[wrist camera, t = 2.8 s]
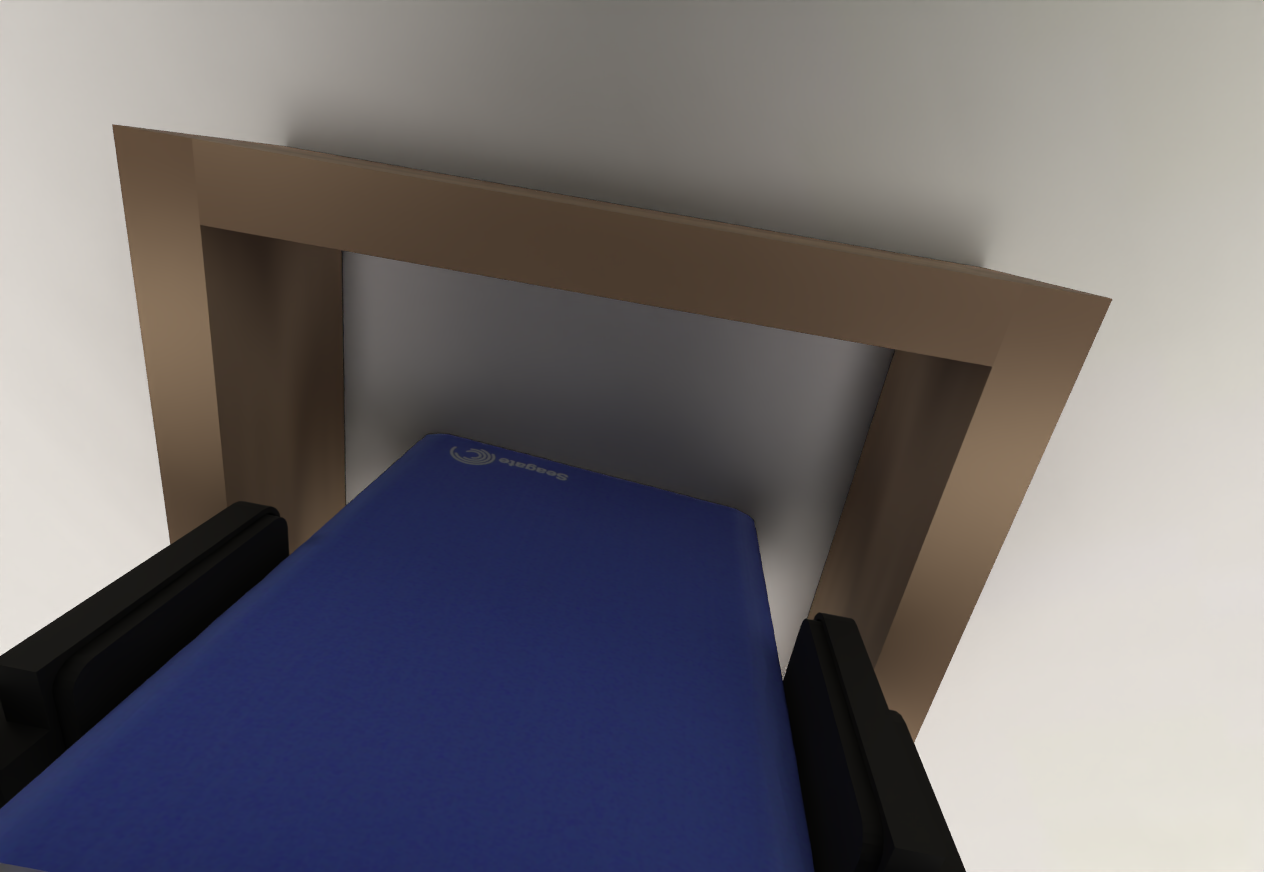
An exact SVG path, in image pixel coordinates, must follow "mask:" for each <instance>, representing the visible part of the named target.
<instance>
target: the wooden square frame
mask: <svg viewBox="0 0 1264 872" xmlns="http://www.w3.org/2000/svg"><path fill="white" fill-rule="evenodd" d="M112 126H113V133H114V140H115V147H116V155H117V162H118V169H119V176H120V184H121V191H122V198H123V205H124V212H125V220H126V227H127V234H128V241H129V249H130V256H131V263H132V270H133V277H134V285H135V292H136V299H137V306H138V314H139V321H140V328H141V335H142V343H143V350H144V357H145V364H146V371H147V379H148V386H149V393H150V400H151V408H152V415H153V422H154V429H155V436H156V444H157V451H158V458H159V465H160V473H161V480H162V487H163V494H164V501H165V509H166V516H167V523H168V530H169V538H170V545H171V544H172V543H174V542H175V541H177V540H178V539H180V538H181V537H183V536H184V535H186V534H187V533H189V532H190V531H192V530H193V529H195V528H196V527H198V526H200V525H201V524H203V523H204V522H206V521H207V520H209V519H210V518H212V517H213V516H215V515H216V514H218V513H219V512H221V511H222V510H224V509H226V508H227V507H229V506H230V505H232V504H233V503H235V502H238V501H246V502H251V503H256V504H261V505H266V506H272V507H274V508H276V509H277V510H278V511H279V513H280V517H283V518H284V519H286V521H287V524H288V538H289V556H290V555H291V554H292V553H293V552H294V551H295V550H296V549H297V548H298V547H299V546H301V545H302V544H303V543H304V542H306V541H307V540H308V539H309V538H310V537H311V536H312V535H313V534H314V533H315V532H317V531H318V530H319V529H320V528H321V527H322V526H324V525H325V524H326V523H327V522H328V521H329V520H330V519H331V518H333V517H334V516H335V515H336V514H337V513H338V512H339V511H340V510H342V509H343V508H344V507H345V446H344V379H343V312H342V250H343V251H349V252H354V253H360V254H366V255H371V256H377V257H382V258H388V259H393V260H399V261H405V262H410V263H416V264H421V265H427V266H433V267H438V268H444V269H449V270H455V271H460V272H466V273H472V274H477V275H483V276H488V277H494V278H500V279H505V280H511V281H516V282H522V283H527V284H533V285H539V286H544V287H550V288H555V289H561V290H567V291H572V292H578V293H583V294H589V295H594V296H600V297H606V298H611V299H617V300H622V301H628V302H633V303H639V304H645V305H650V306H656V307H661V308H667V309H673V310H678V311H684V312H689V313H695V314H700V315H706V316H712V317H717V318H723V319H728V320H734V321H740V322H745V323H751V324H756V325H762V326H767V327H773V328H779V329H784V330H790V331H795V332H801V333H807V334H812V335H818V336H823V337H829V338H834V339H840V340H846V341H851V342H857V343H862V344H868V345H873V346H879V347H885V348H890V349H895V352H894V355H893V358H892V361H891V364H890V367H889V370H888V373H887V376H886V379H885V382H884V386H883V389H882V392H881V395H880V398H879V401H878V404H877V407H876V410H875V413H874V416H873V419H872V422H871V425H870V428H869V431H868V434H867V438H866V441H865V444H864V447H863V450H862V453H861V456H860V459H859V462H858V465H857V468H856V471H855V474H854V477H853V480H852V483H851V487H850V490H849V493H848V496H847V499H846V502H845V505H844V508H843V511H842V514H841V517H840V520H839V523H838V526H837V529H836V532H835V536H834V539H833V542H832V545H831V548H830V551H829V554H828V557H827V560H826V563H825V566H824V569H823V572H822V575H821V578H820V581H819V584H818V588H817V591H816V594H815V597H814V600H813V603H812V606H811V609H810V612H809V615H808V618H807V619H811V620H813V619H814V617H815V615H816V614H817V613H819V612H821V613H826V614H832V615H837V616H842V617H847V618H852V619H853V620H854V621H855V622H856V624H857V627H858V629H859V632H860V635H861V637H862V640H863V643H864V645H865V648H866V650H867V653H868V656H869V658H870V661H871V663H872V666H873V669H874V671H875V674H876V677H877V679H878V682H879V684H880V687H881V690H882V692H883V695H884V697H885V700H886V703H887V705H888V708H889V710H894V711H897V712H898V713H899V714H901V715H902V717H903V719H904V721H905V723H906V725H907V727H908V730H909V732H910V735H911V737H912V739H913V742H915V739H916V737H917V735H918V733H919V730H920V728H921V726H922V724H923V721H924V719H925V717H926V715H927V713H928V710H929V708H930V706H931V704H932V701H933V699H934V697H935V695H936V692H937V690H938V688H939V686H940V683H941V681H942V679H943V677H944V675H945V672H946V670H947V668H948V666H949V663H950V661H951V659H952V657H953V654H954V652H955V650H956V648H957V645H958V643H959V641H960V639H961V636H962V634H963V632H964V630H965V628H966V625H967V623H968V621H969V619H970V616H971V614H972V612H973V610H974V607H975V605H976V603H977V601H978V598H979V596H980V594H981V592H982V589H983V587H984V585H985V583H986V581H987V578H988V576H989V574H990V572H991V569H992V567H993V565H994V563H995V560H996V558H997V556H998V554H999V551H1000V549H1001V547H1002V545H1003V543H1004V540H1005V538H1006V536H1007V534H1008V531H1009V529H1010V527H1011V525H1012V522H1013V520H1014V518H1015V516H1016V513H1017V511H1018V509H1019V507H1020V504H1021V502H1022V500H1023V498H1024V496H1025V493H1026V491H1027V489H1028V487H1029V484H1030V482H1031V480H1032V478H1033V475H1034V473H1035V471H1036V469H1037V466H1038V464H1039V462H1040V460H1041V458H1042V455H1043V453H1044V451H1045V449H1046V446H1047V444H1048V442H1049V440H1050V437H1051V435H1052V433H1053V431H1054V428H1055V426H1056V424H1057V422H1058V419H1059V417H1060V415H1061V413H1062V411H1063V408H1064V406H1065V404H1066V402H1067V399H1068V397H1069V395H1070V393H1071V390H1072V388H1073V386H1074V384H1075V381H1076V379H1077V377H1078V375H1079V373H1080V370H1081V368H1082V366H1083V364H1084V361H1085V359H1086V357H1087V355H1088V352H1089V350H1090V348H1091V346H1092V343H1093V341H1094V339H1095V337H1096V334H1097V332H1098V330H1099V328H1100V326H1101V323H1102V321H1103V319H1104V317H1105V314H1106V312H1107V310H1108V308H1109V305H1110V303H1111V301H1112V299H1110V298H1106V297H1102V296H1098V295H1094V294H1090V293H1086V292H1081V291H1077V290H1073V289H1069V288H1065V287H1061V286H1057V285H1053V284H1048V283H1044V282H1040V281H1036V280H1032V279H1028V278H1024V277H1020V276H1015V275H1011V274H1007V273H1003V272H999V271H995V270H991V269H987V268H981V267H975V266H970V265H964V264H958V263H952V262H947V261H941V260H935V259H929V258H924V257H918V256H912V255H906V254H901V253H895V252H889V251H883V250H878V249H872V248H866V247H860V246H855V245H849V244H843V243H837V242H832V241H826V240H820V239H814V238H809V237H803V236H797V235H792V234H786V233H780V232H774V231H769V230H763V229H757V228H751V227H746V226H740V225H734V224H728V223H723V222H717V221H711V220H705V219H700V218H694V217H688V216H682V215H677V214H671V213H665V212H659V211H654V210H648V209H642V208H636V207H631V206H625V205H619V204H613V203H608V202H602V201H596V200H591V199H585V198H579V197H573V196H568V195H562V194H556V193H550V192H545V191H539V190H533V189H527V188H522V187H516V186H510V185H504V184H499V183H493V182H487V181H481V180H476V179H470V178H464V177H458V176H453V175H447V174H441V173H435V172H430V171H424V170H418V169H412V168H407V167H401V166H395V165H389V164H384V163H378V162H372V161H367V160H361V159H355V158H349V157H344V156H338V155H332V154H326V153H321V152H315V151H309V150H303V149H298V148H292V147H286V146H279V145H271V144H263V143H255V142H248V141H240V140H232V139H224V138H216V137H208V136H200V135H192V134H184V133H176V132H168V131H160V130H153V129H145V128H137V127H129V126H121V125H113V124H112Z"/></svg>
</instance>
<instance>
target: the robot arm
mask: <svg viewBox="0 0 1264 872" xmlns="http://www.w3.org/2000/svg"><path fill="white" fill-rule="evenodd" d="M288 556H289V538H288V524H287V521H286V519H284V518H283V517H280V513H279V511H278V510H277V509H276V508H274V507H272V506H266V505H261V504H256V503H251V502H246V501H238V502H235V503H233V504H232V505H230V506H229V507H227V508H226V509H224V510H222V511H221V512H219V513H218V514H216V515H215V516H213V517H212V518H210V519H209V520H207V521H206V522H204V523H203V524H201V525H200V526H198V527H196V528H195V529H193V530H192V531H190V532H189V533H187V534H186V535H184V536H183V537H181V538H180V539H178V540H177V541H175V542H174V543H172V544H171V545H169V546H167V547H166V548H164V549H163V550H161V551H160V552H158V553H157V554H155V555H154V556H152V557H151V558H149V559H148V560H146V561H145V562H143V563H141V564H140V565H138V566H137V567H135V568H134V569H132V570H131V571H129V572H128V573H126V574H125V575H123V576H122V577H120V578H119V579H117V580H116V581H114V582H112V583H111V584H109V585H108V586H106V587H105V588H103V589H102V590H100V591H99V592H97V593H96V594H94V595H93V596H91V597H90V598H88V599H86V600H85V601H83V602H82V603H80V604H79V605H77V606H76V607H74V608H73V609H71V610H70V611H68V612H67V613H65V614H64V615H62V616H61V617H59V618H57V619H56V620H54V621H53V622H51V623H50V624H48V625H47V626H45V627H44V628H42V629H41V630H39V631H38V632H36V633H35V634H33V635H31V636H30V637H28V638H27V639H25V640H24V641H22V642H21V643H19V644H18V645H16V646H15V647H13V648H12V649H10V650H9V651H7V652H6V653H4V654H2V655H1V656H0V809H1V808H2V807H3V806H4V805H5V804H7V803H8V802H9V801H10V800H11V799H12V798H13V797H14V796H16V795H17V794H18V793H19V792H20V791H21V790H22V789H24V788H25V787H26V786H27V785H28V784H29V783H30V782H31V781H33V780H34V779H35V778H36V777H37V776H39V775H40V774H41V773H42V772H43V771H44V770H45V769H46V768H47V767H49V766H50V765H51V764H52V763H53V762H54V761H55V760H56V759H57V758H58V757H60V756H61V755H62V754H63V753H64V752H65V751H66V750H67V749H69V748H70V747H71V746H72V745H73V744H74V743H75V742H77V741H78V740H79V739H80V738H81V737H82V736H83V735H85V734H86V733H87V732H88V731H89V730H90V729H91V728H93V727H94V726H95V725H96V724H97V723H98V722H99V721H101V720H102V719H103V718H104V717H105V716H106V715H107V714H109V713H110V712H111V711H112V710H113V709H114V708H115V707H117V706H118V705H119V704H120V703H121V702H122V701H123V700H125V699H126V698H127V697H128V696H129V695H130V694H131V693H132V692H134V691H135V690H136V689H137V688H138V687H140V686H141V685H142V684H143V683H144V682H145V681H146V680H147V679H149V678H150V677H151V676H152V675H153V674H155V673H156V672H157V671H158V670H159V669H160V668H161V667H162V666H164V665H165V664H166V663H167V662H168V661H169V660H170V659H171V658H172V657H174V656H175V655H176V654H177V653H178V652H179V651H181V650H182V649H183V648H184V647H186V646H187V645H188V644H189V643H190V642H192V641H193V640H194V639H195V638H196V637H197V636H198V635H199V634H201V633H202V632H203V631H204V630H205V629H206V628H207V627H208V626H209V625H210V624H211V623H212V622H214V621H215V620H216V619H217V618H218V617H219V616H221V615H222V614H223V613H224V612H225V611H226V610H227V609H229V608H230V607H231V606H232V605H233V604H234V603H236V602H237V601H238V600H239V599H240V598H241V597H242V596H243V595H245V594H246V593H247V592H248V591H249V590H251V589H252V588H253V587H254V586H255V585H257V584H258V583H259V582H260V581H261V580H263V579H264V578H265V577H266V576H267V575H268V574H269V573H270V572H271V571H272V570H273V569H274V568H275V567H276V566H278V565H279V564H280V563H281V562H282V561H283V560H284V559H286V558H287V557H288ZM783 685H784V692H785V697H786V703H787V707H788V713H789V720H790V727H791V732H792V738H793V745H794V749H795V754H796V760H797V767H798V774H799V780H800V786H801V792H802V798H803V804H804V809H805V815H806V821H807V826H808V832H809V838H810V844H811V849H812V857H813V865H814V870H815V872H966V871H965V868H964V866H963V863H962V861H961V858H960V856H959V853H958V851H957V848H956V846H955V843H954V841H953V838H952V836H951V833H950V831H949V829H948V826H947V824H946V821H945V819H944V816H943V814H942V811H941V809H940V806H939V804H938V801H937V799H936V796H935V794H934V791H933V789H932V786H931V784H930V782H929V779H928V777H927V774H926V772H925V769H924V767H923V764H922V762H921V759H920V757H919V754H918V752H917V749H916V747H915V744H914V742H913V739H912V737H911V735H910V732H909V730H908V727H907V725H906V723H905V721H904V719H903V717H902V715H901V714H899V713H898V712H897V711H894V710H889V708H888V705H887V703H886V700H885V697H884V695H883V692H882V690H881V687H880V684H879V682H878V679H877V677H876V674H875V671H874V669H873V666H872V663H871V661H870V658H869V656H868V653H867V650H866V648H865V645H864V643H863V640H862V637H861V635H860V632H859V629H858V627H857V624H856V622H855V621H854V620H853V619H852V618H847V617H842V616H837V615H832V614H826V613H821V612H819V613H817V614H816V615H815V617H814V619H813V620H811V619H804V620H803V622H802V624H801V627H800V630H799V633H798V636H797V639H796V643H795V646H794V649H793V652H792V655H791V658H790V661H789V664H788V667H787V671H786V674H785V677H784V680H783ZM0 872H46V871H41V870H37V869H31V868H26V867H21V866H15V865H10V864H4V863H0Z"/></svg>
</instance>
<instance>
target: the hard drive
mask: <svg viewBox="0 0 1264 872" xmlns="http://www.w3.org/2000/svg"><path fill="white" fill-rule="evenodd" d="M0 863H4V864H10V865H15V866H21V867H26V868H31V869H37V870H41V871H46V872H815V870H814V865H813V857H812V849H811V844H810V838H809V832H808V826H807V821H806V815H805V809H804V804H803V798H802V792H801V786H800V780H799V774H798V767H797V760H796V754H795V749H794V745H793V738H792V732H791V727H790V720H789V713H788V707H787V703H786V697H785V692H784V685H783V679H782V674H781V669H780V664H779V659H778V652H777V646H776V641H775V636H774V629H773V624H772V619H771V613H770V607H769V602H768V595H767V590H766V584H765V578H764V573H763V568H762V561H761V555H760V551H759V544H758V539H757V533H756V528H755V524H754V520H753V519H752V518H751V517H750V516H748V515H747V514H745V513H743V512H741V511H739V510H737V509H735V508H731V507H728V506H724V505H720V504H716V503H712V502H708V501H704V500H700V499H696V498H693V497H690V496H687V495H682V494H677V493H674V492H671V491H667V490H663V489H659V488H655V487H652V486H647V485H643V484H639V483H636V482H632V481H628V480H625V479H620V478H616V477H611V476H608V475H605V474H601V473H597V472H593V471H589V470H585V469H581V468H577V467H573V466H569V465H566V464H562V463H558V462H554V461H551V460H547V459H545V458H540V457H535V456H531V455H528V454H526V453H520V452H516V451H512V450H508V449H505V448H501V447H496V446H493V445H489V444H484V443H481V442H477V441H473V440H470V439H466V438H462V437H458V436H454V435H451V434H441V433H440V434H429V435H426V436H425V437H424V438H423V439H422V440H420V441H418V442H417V443H416V444H415V445H414V446H413V447H412V448H411V449H409V450H408V451H407V452H406V453H405V454H404V455H403V456H402V457H401V458H400V459H398V460H397V461H396V462H395V463H394V464H393V465H391V466H390V467H389V468H388V469H387V470H386V471H385V472H384V473H382V474H381V475H380V476H379V477H378V478H377V479H376V480H374V481H373V482H372V483H371V484H370V485H369V486H368V487H366V488H365V489H364V490H363V491H362V492H361V493H359V494H358V495H357V496H356V497H355V498H354V499H353V500H352V501H351V502H350V503H348V504H347V505H346V506H345V507H344V508H343V509H342V510H340V511H339V512H338V513H337V514H336V515H335V516H334V517H333V518H331V519H330V520H329V521H328V522H327V523H326V524H325V525H324V526H322V527H321V528H320V529H319V530H318V531H317V532H315V533H314V534H313V535H312V536H311V537H310V538H309V539H308V540H307V541H306V542H304V543H303V544H302V545H301V546H299V547H298V548H297V549H296V550H295V551H294V552H293V553H292V554H291V555H290V556H288V557H287V558H286V559H284V560H283V561H282V562H281V563H280V564H279V565H278V566H276V567H275V568H274V569H273V570H272V571H271V572H270V573H269V574H268V575H267V576H266V577H265V578H264V579H263V580H261V581H260V582H259V583H258V584H257V585H255V586H254V587H253V588H252V589H251V590H249V591H248V592H247V593H246V594H245V595H243V596H242V597H241V598H240V599H239V600H238V601H237V602H236V603H234V604H233V605H232V606H231V607H230V608H229V609H227V610H226V611H225V612H224V613H223V614H222V615H221V616H219V617H218V618H217V619H216V620H215V621H214V622H212V623H211V624H210V625H209V626H208V627H207V628H206V629H205V630H204V631H203V632H202V633H201V634H199V635H198V636H197V637H196V638H195V639H194V640H193V641H192V642H190V643H189V644H188V645H187V646H186V647H184V648H183V649H182V650H181V651H179V652H178V653H177V654H176V655H175V656H174V657H172V658H171V659H170V660H169V661H168V662H167V663H166V664H165V665H164V666H162V667H161V668H160V669H159V670H158V671H157V672H156V673H155V674H153V675H152V676H151V677H150V678H149V679H147V680H146V681H145V682H144V683H143V684H142V685H141V686H140V687H138V688H137V689H136V690H135V691H134V692H132V693H131V694H130V695H129V696H128V697H127V698H126V699H125V700H123V701H122V702H121V703H120V704H119V705H118V706H117V707H115V708H114V709H113V710H112V711H111V712H110V713H109V714H107V715H106V716H105V717H104V718H103V719H102V720H101V721H99V722H98V723H97V724H96V725H95V726H94V727H93V728H91V729H90V730H89V731H88V732H87V733H86V734H85V735H83V736H82V737H81V738H80V739H79V740H78V741H77V742H75V743H74V744H73V745H72V746H71V747H70V748H69V749H67V750H66V751H65V752H64V753H63V754H62V755H61V756H60V757H58V758H57V759H56V760H55V761H54V762H53V763H52V764H51V765H50V766H49V767H47V768H46V769H45V770H44V771H43V772H42V773H41V774H40V775H39V776H37V777H36V778H35V779H34V780H33V781H31V782H30V783H29V784H28V785H27V786H26V787H25V788H24V789H22V790H21V791H20V792H19V793H18V794H17V795H16V796H14V797H13V798H12V799H11V800H10V801H9V802H8V803H7V804H5V805H4V806H3V807H2V808H1V809H0Z"/></svg>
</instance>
